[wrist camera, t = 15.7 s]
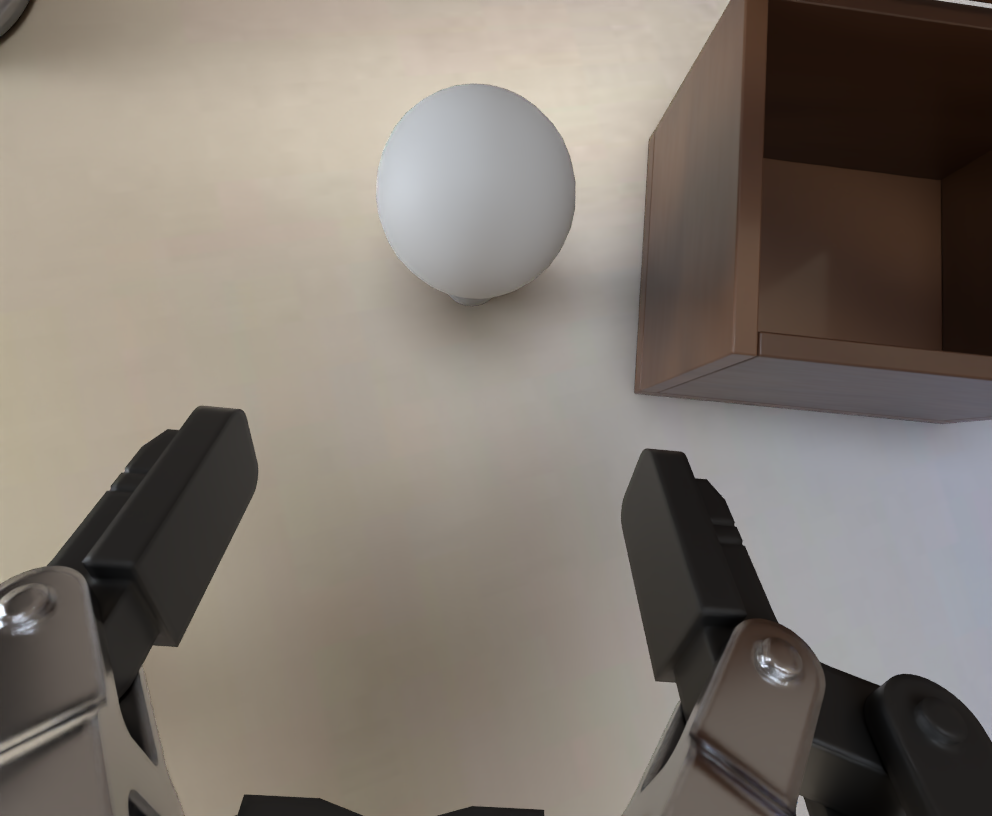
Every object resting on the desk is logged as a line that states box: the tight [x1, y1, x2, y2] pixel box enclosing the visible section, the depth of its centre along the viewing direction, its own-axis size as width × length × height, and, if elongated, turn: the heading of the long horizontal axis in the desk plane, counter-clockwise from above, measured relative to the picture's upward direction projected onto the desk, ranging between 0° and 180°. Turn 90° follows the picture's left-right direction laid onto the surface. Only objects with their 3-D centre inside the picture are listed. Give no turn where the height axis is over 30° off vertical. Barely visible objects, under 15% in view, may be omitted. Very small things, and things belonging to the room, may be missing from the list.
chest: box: [634, 0, 992, 424], centre depth 21 cm, size 13×15×9 cm
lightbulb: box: [376, 84, 575, 306], centre depth 19 cm, size 6×6×11 cm
